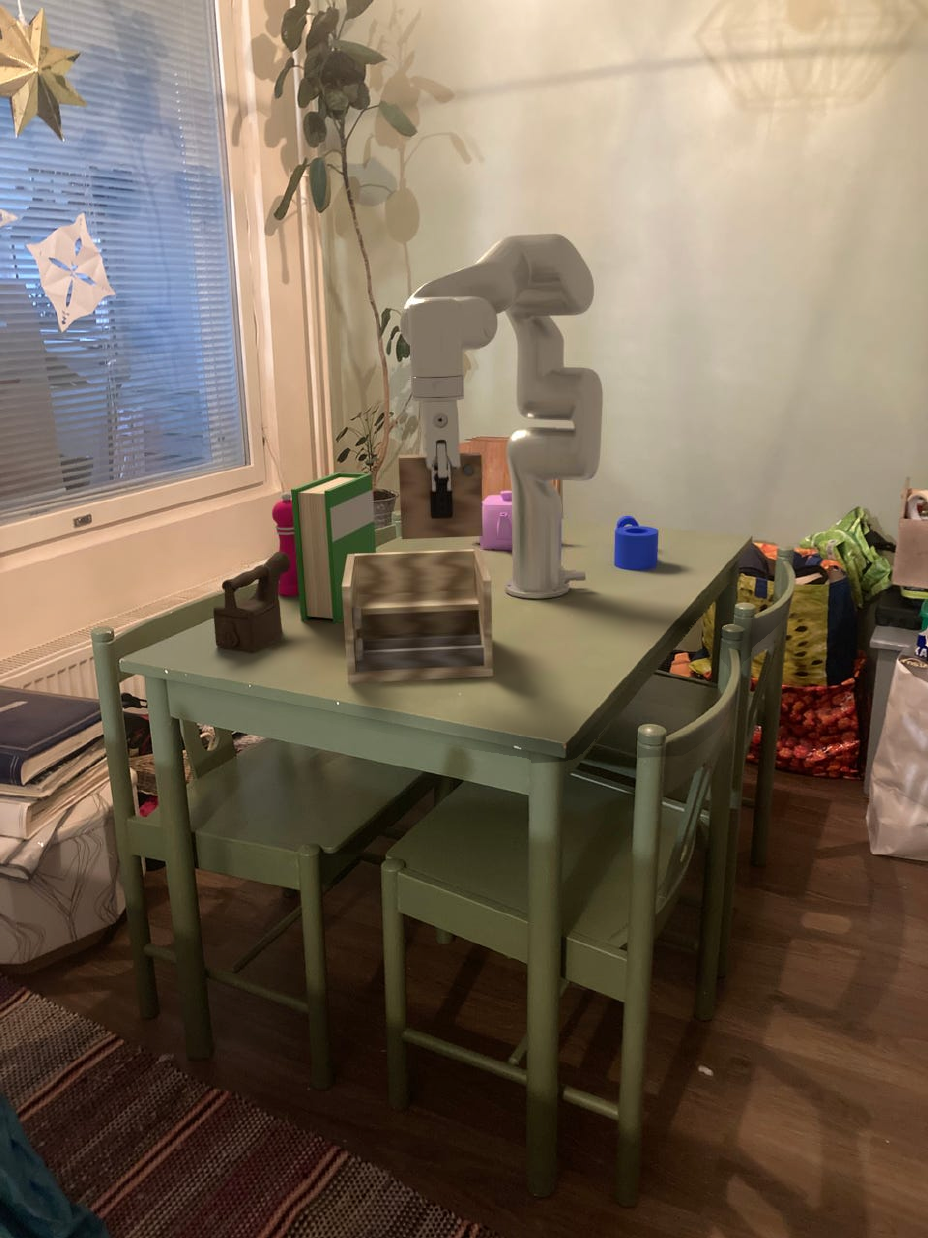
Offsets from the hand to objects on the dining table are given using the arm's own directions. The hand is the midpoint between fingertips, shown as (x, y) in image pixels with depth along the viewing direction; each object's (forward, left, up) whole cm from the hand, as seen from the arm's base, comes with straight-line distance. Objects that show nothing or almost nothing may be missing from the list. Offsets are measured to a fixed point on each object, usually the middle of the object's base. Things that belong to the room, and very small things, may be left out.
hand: (441, 514), depth 146 cm
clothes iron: (+31, -18, -25) cm, 44 cm away
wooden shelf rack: (+4, -5, -24) cm, 25 cm away
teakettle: (-19, -79, -25) cm, 85 cm away
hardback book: (+18, -34, -25) cm, 46 cm away
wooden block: (0, 0, -3) cm, 3 cm away
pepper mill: (+28, -46, -25) cm, 59 cm away
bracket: (-44, -61, -25) cm, 79 cm away
